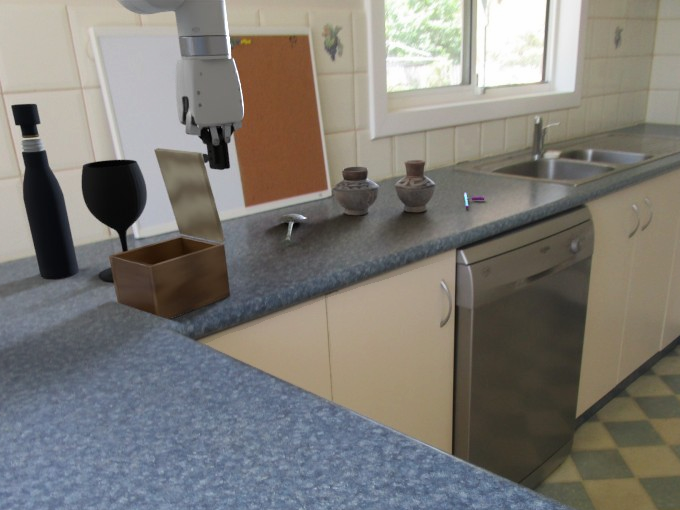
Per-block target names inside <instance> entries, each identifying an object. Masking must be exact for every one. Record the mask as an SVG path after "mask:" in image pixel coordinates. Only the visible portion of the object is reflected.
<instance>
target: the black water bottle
mask: <svg viewBox="0 0 680 510" xmlns="http://www.w3.org/2000/svg"><path fill="white" fill-rule="evenodd" d="M10 107H11V111H12V112H11V113H12V116H13V121H14V125H15V126H18V127H20V131H21V137H22V140H21V143H20V145H21V146H22V148H21V149H22V150H23V151H22V152H21V156H22V160H23V165H24V174H23V181H22V199H23V204H24V209H25V214H26V217H27V222H28V227H29V230H30V235H31V239H32V243H33V248H34V252H35V257H36V262H37V266H38V270H39V276H40V277H41V278H42V279H45V280H58V279H64V278H69V277H72V276H75V275H77V274H78V273H79V272H80V269H79V264H78V259H77V255H76V250H75V244H74V239H73V234H72V230H71V229H72V228H71V226H70V225H71V224H70V220H69V215H68V210H67V205H66V199H65V194H64V192H63V190H62V187H61V184H60V182H59V181H58V179H57V177H56V175H55V173H54V171H53V169H51V167H50V164H49V159H48V158H49V157H48V153H47V150H46V149H44V148H45V146H44V145H43V144H44V142H43V141H42V139H41V138H38V137H40V134H39V130H38V125H41V118H40V114H39V109H38V105H37V103H19V104H17V103H16V104H12V105H10Z"/></svg>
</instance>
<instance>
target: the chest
mask: <svg viewBox="0 0 680 510" xmlns="http://www.w3.org/2000/svg"><path fill="white" fill-rule="evenodd" d="M108 258H109V264H110V267H111V269H112V275H113V280H114V282H113V285H114V286H113V287H114V291H115V296H116V301H117V304H121V305H124V306H126V307H129V308H133V309H136V310H139V311H141V312H145V313H149V314H151V315H154V316H157V317H161V318H164V319H166V320H169V319H170V318H172V317H175V316H177V317H179V316H178V315H180V314H182V315H184V314H183V313H185V314H187V313H186V312H188V311H190V312H192V311H191V310H193V311H195V310H198V309H200V308H203V307H206V306H208V305H211V304H214V303H215V302H218V301H221V300H223V299H226V298H228V297H231V289H230V288H231V287H230V281H229V274H228V266H227V265H228V264H227V256H226V248H225V244H223V243H220V242H215V241H210V240H205V239H201V238H196V237H191V236H187V235H179V236H176V237H171V238H168V239H164V240H161V241H157V242H153V243H150V244H147V245H143V246H139V247H136V248H132V249H128V251H125V252H123V251H121V252H117V253H114V254H111V255H109V256H108ZM202 306H203V307H202ZM188 313H189V312H188ZM180 316H181V315H180ZM175 318H176V317H175ZM172 319H173V318H172ZM170 320H171V319H170Z"/></svg>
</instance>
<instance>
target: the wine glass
mask: <svg viewBox="0 0 680 510" xmlns="http://www.w3.org/2000/svg"><path fill="white" fill-rule="evenodd" d="M80 182H81V193H82V198H83V201H84V203H85V206H86V208H87V209H88V211H89V212H90V214H91V215H92V216H93V217H94V218H95V219H96V220H98V221H99V222H100V223H101V224H103V225H105V226H106V227H109V228H110V229H112V230H114V231H115V232H116V233H117V235H118V237H119V241H120V245H121V252H125V251H128V250H129V247H128V240H127V238H128V236H127V234H128V229H130V228H131V227H132V226H133V225H134V224H135V223H136V222H137V221H138V220H139V218H140V217H141V216H142V215H143V213H144V210H145V208H146V205H147V201H148V200H147V199H148V191H147V184H146V181H145V177H144V175H143V172H142V169H141V168H140V165H139V163H138V161H137V160H134V159H109V160H108V159H107V160H99V161H92V162H88V163H84V164H83V165H82V170H81V181H80ZM98 278H99V280H101V281H103V282H106V283H114V280H113V275H112V269H111V266H110V267H107V268H105V269H103V270H102V271H100V272H99V274H98Z"/></svg>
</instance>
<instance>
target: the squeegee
mask: <svg viewBox="0 0 680 510" xmlns="http://www.w3.org/2000/svg"><path fill="white" fill-rule="evenodd" d="M463 197H464V205H465V209H469V202H468V201H469V200H471V201H485V196H472V197H471V198H470V197H469V196H468V197H467V192H463Z"/></svg>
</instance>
